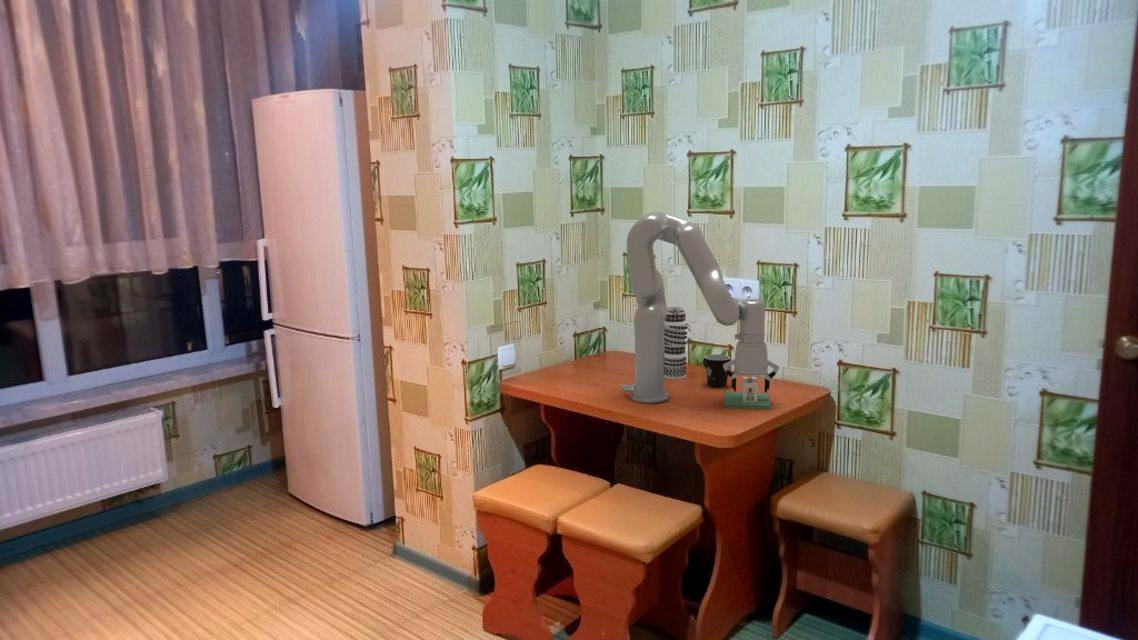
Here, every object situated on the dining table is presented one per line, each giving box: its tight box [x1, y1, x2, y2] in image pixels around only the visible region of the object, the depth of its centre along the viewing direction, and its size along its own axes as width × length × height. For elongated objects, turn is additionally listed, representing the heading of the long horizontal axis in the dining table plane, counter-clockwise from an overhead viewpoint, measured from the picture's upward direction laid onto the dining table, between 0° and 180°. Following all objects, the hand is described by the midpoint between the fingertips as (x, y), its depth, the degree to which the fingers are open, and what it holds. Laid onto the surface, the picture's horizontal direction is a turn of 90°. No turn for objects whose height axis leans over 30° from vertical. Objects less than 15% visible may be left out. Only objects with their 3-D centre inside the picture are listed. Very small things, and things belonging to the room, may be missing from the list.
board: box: [723, 388, 771, 411], centre depth 250 cm, size 14×14×4 cm
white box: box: [742, 376, 758, 402], centre depth 250 cm, size 4×8×6 cm, turn 168°
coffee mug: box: [702, 353, 731, 389], centre depth 271 cm, size 12×9×10 cm
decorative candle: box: [664, 306, 689, 380], centre depth 281 cm, size 9×9×25 cm
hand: (750, 391), depth 250 cm, fingers open, 9 cm apart
